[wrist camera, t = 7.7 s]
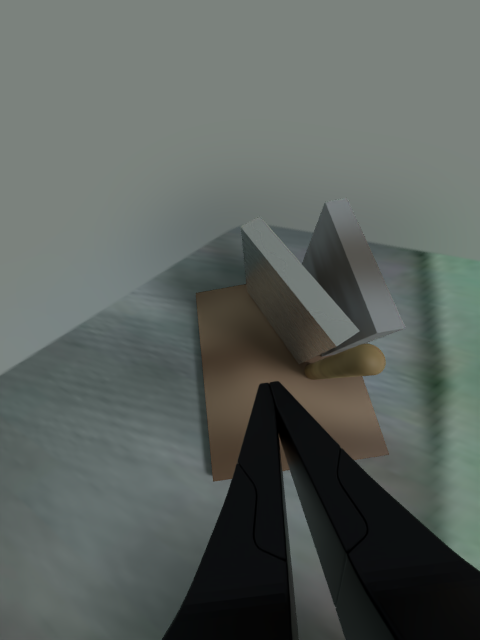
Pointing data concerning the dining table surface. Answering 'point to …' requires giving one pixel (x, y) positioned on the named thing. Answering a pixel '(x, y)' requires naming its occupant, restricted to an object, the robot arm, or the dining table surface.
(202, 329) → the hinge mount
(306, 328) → the swinging leaf
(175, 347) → the dining table surface
